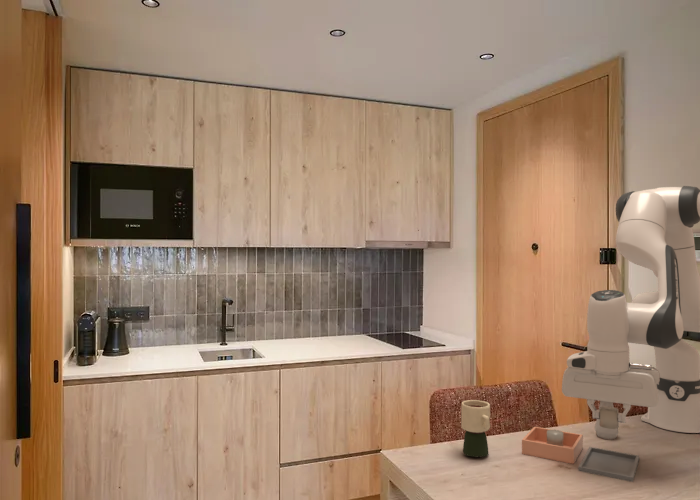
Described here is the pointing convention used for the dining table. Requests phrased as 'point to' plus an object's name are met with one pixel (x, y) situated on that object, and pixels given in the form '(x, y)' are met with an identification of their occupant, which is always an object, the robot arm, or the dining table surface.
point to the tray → (610, 463)
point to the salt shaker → (605, 432)
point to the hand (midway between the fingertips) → (608, 420)
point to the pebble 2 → (608, 417)
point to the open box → (552, 446)
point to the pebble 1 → (555, 437)
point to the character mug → (475, 427)
